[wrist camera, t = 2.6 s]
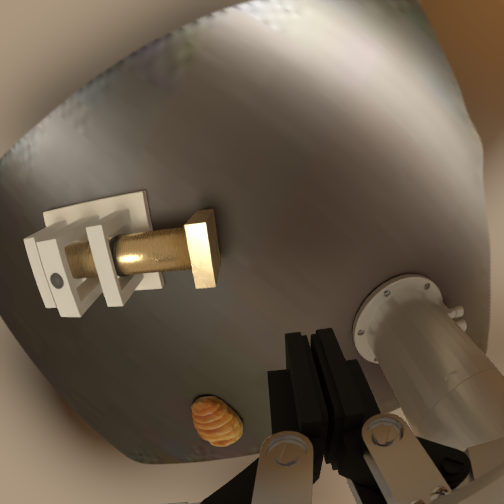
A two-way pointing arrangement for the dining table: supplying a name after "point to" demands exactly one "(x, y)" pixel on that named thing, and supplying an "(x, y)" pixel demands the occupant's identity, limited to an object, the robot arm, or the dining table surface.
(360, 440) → the robot arm
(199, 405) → the pastry
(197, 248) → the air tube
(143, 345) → the dining table surface
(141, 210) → the white slotted holder
